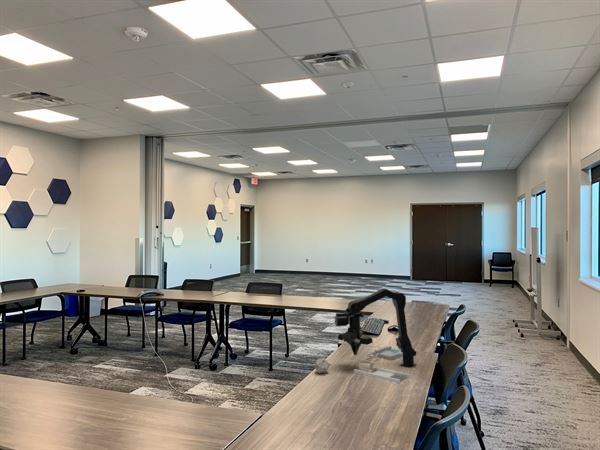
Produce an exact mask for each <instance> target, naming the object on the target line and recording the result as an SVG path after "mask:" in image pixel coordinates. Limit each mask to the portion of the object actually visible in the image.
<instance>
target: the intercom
mask: <svg viewBox="0 0 600 450" xmlns="http://www.w3.org/2000/svg"><path fill="white" fill-rule="evenodd" d="M365 356H366V357H367V358H369V359H370V358H372V359H374V358H379V359H382V358H383V360H387V361H395V360H397V359H400V358H403V353H402V352H401V350H400V349H396V348H395V349H394V348H393V349H392V346H391V345H385V346H381V347H378V348H375V349H374V351H371V352H369V353H366V355H365Z"/></svg>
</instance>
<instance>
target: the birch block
mask: <svg viewBox="0 0 600 450" xmlns="http://www.w3.org/2000/svg"><path fill="white" fill-rule="evenodd" d="M375 367H376V362H375V361H371V360H367V359H366V360H363V361H359V363H358V370H361V371H365V372H369V373H372V372H374V371H375Z"/></svg>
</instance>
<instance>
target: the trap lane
mask: <svg viewBox="0 0 600 450" xmlns="http://www.w3.org/2000/svg"><path fill="white" fill-rule="evenodd" d="M353 373H356V374H360V375H364V376H369V377H371V378H377V379H380V380H384V381H389V382H393V383H396V384H401V382H402V381H403V380H406V379H407V378H408V379H410V378H411V374H409V373H404V372H401V371H397V370H391V369H386V368H383V367H378V366H377V367H376V366H375V371H374V372H372V373H369V372H365V371H361V370H359V369H357V368H355V369H353Z"/></svg>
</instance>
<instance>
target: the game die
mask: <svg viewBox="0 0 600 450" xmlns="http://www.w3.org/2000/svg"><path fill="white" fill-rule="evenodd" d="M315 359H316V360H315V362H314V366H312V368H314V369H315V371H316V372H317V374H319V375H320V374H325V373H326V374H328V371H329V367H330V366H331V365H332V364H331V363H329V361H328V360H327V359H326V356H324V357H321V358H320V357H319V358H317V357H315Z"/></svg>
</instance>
